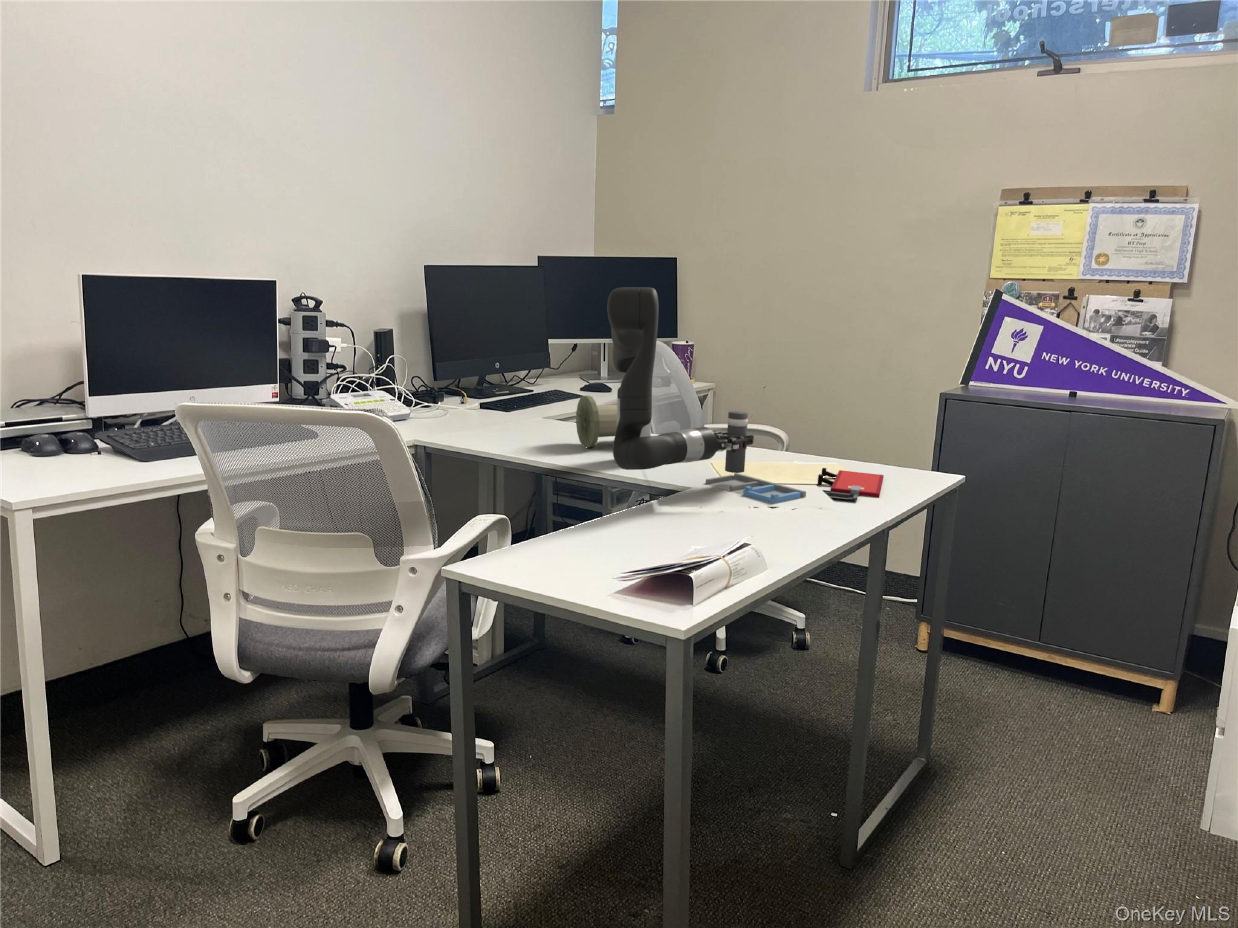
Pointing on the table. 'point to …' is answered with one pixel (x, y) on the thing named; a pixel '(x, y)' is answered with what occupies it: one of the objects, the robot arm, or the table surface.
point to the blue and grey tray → (756, 488)
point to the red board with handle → (851, 484)
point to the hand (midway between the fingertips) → (744, 437)
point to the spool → (594, 421)
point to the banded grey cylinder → (736, 428)
